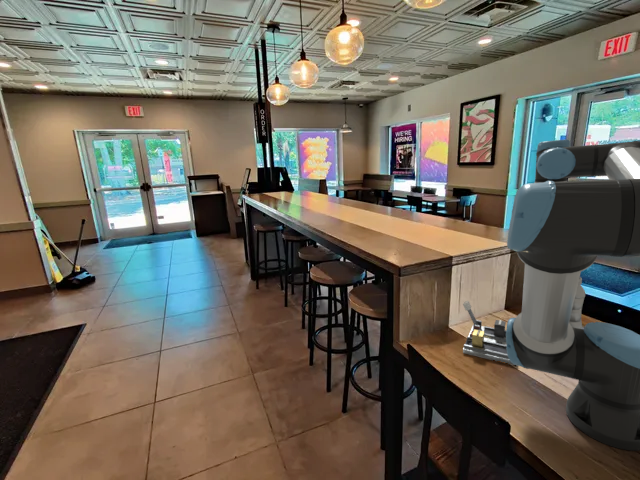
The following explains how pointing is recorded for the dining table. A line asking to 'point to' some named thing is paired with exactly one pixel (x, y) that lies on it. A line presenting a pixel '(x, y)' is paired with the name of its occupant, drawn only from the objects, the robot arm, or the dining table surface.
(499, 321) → the slider black
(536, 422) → the dining table surface
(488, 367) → the dining table surface
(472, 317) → the lever
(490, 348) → the panel
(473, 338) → the slider brass
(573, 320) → the plastic bottle
